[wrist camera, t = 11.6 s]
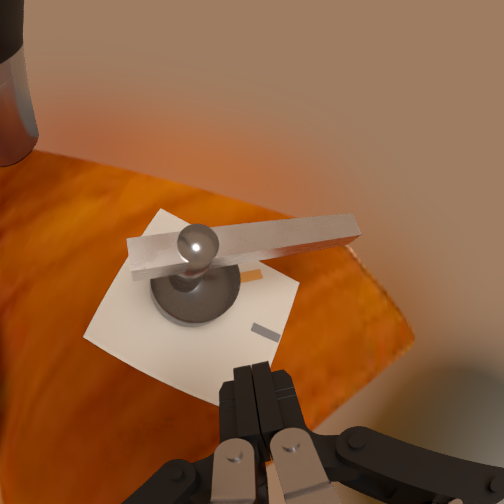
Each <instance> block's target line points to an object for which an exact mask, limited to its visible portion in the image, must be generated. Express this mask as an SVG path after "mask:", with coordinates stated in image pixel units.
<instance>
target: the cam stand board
mask: <svg viewBox="0 0 504 504" xmlns="http://www.w3.org/2000/svg"><path fill="white" fill-rule="evenodd" d="M188 225H191V224H189V223H187V222H185V221H183V220H181V219H179V218H178V217H176V216H174V215H172V214H170V213H168V212H166V211H165V210H163V209H161V208H160V210H159V211H158V212H157V214H156V215H155V217H154V218H153V220H152V221H151V223H150V224H149V226H148V227H147V229H146V230H145V232H144V233H143V235H142V236H149V235H156V234H163V233H171V232H179V231H182V230H183V229H184V228H185V227H186V226H188ZM238 267H239V271H240V277H241V283H240V290H239V293H238V296H237V298H236V300H235V302H234V303H233V305H232V306H231V307H230V308H229V309H228V310H227V311H226V312H225V313H224V314H222V315H221V316H220V317H218V318H217V319H216V320H214V321H213V322H211V323H209V324H207V325H204V326H200V327H184V326H180V325H177V324H175V323H173V322H171V321H169V320H168V319H166V318H165V317H164V316H163V315H162V314H161V313H160V312H159V311H158V309H157V308H156V306H155V304H154V302H153V300H152V297H151V292H150V279H147V280H140V281H134V282H133V280H132V274H131V267H130V261H129V256H128V258H127V260H126V261H125V263H124V264H123V266H122V268H121V269H120V271H119V273H118V274H117V276H116V278H115V279H114V281H113V283H112V284H111V286H110V288H109V290H108V291H107V293H106V295H105V297H104V298H103V300H102V302H101V304H100V306H99V307H98V309H97V311H96V313H95V315H94V317H93V319H92V321H91V322H90V324H89V326H88V328H87V330H86V332H85V334H84V336H83V337H84V338H85V339H87V340H89V341H90V342H92V343H93V344H95V345H96V346H98V347H100V348H101V349H103V350H105V351H106V352H108V353H110V354H111V355H113V356H115V357H116V358H118V359H120V360H122V361H123V362H125V363H127V364H129V365H131V366H132V367H134V368H136V369H138V370H140V371H142V372H144V373H146V374H148V375H150V376H152V377H154V378H156V379H158V380H160V381H162V382H164V383H166V384H168V385H170V386H172V387H174V388H176V389H179V390H181V391H183V392H185V393H188V394H190V395H192V396H195V397H197V398H199V399H202V400H204V401H207V402H209V403H212V404H214V405H217V406H219V390H220V388H221V386H222V384H223V382H226V381H232V380H234V375H233V368H236V367H241V366H246V365H251V368H252V364H255V363H260V362H264V361H269V365H270V366H271V364H272V361H273V358H274V355H275V353H276V350H277V347H278V344H279V342H280V339H281V336H282V333H283V330H284V327H285V324H286V322H287V319H288V316H289V313H290V310H291V307H292V304H293V301H294V298H295V295H296V292H297V288H298V285H299V282H297V281H295V280H293V279H291V278H289V277H288V276H286V275H284V274H282V273H280V272H278V271H276V270H274V269H273V268H271V267H269V266H267V265H265V264H263V263H261V262H259V261H253V262H247V263H242V264H238Z"/></svg>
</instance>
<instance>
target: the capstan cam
mask: <svg viewBox="0 0 504 504" xmlns="http://www.w3.org/2000/svg"><path fill="white" fill-rule="evenodd" d="M361 235H362V234H361V231H360V229H359V227H358V224H357V222H356V220H355V217H354V215H353V214H352V213H351V214H339V215H327V216H317V217H305V218H294V219H284V220H274V221H264V222H255V223H246V224H237V225H228V226H219V227H211V228H209V227H208V226H205V225H202V224H191V225H188V226H186V227H185V228H184V229H183V230H182V231H179V232H171V233H163V234H156V235H149V236H141V237H134V238H127V246H128V254H129V261H130V267H131V274H132V280H133V282H134V281H140V280H147V279H150V292H151V297H152V300H153V302H154V304H155V306H156V308H157V309H158V311H159V312H160V313H161V314H162V315H163V316H164V317H165V318H166V319H168V320H169V321H171V322H173V323H175V324H177V325H180V326H184V327H200V326H204V325H207V324H209V323H211V322H213V321H214V320H216V319H217V318H218V317H220V316H221V315H222V314H224V313H225V312H226V311H227V310H228V309H229V308H230V307H231V306H232V305H233V303H234V302H235V300H236V298H237V296H238V293H239V290H240V283H241V277H240V271H239V267H238V264H242V263H247V262H253V261H259V260H264V259H270V258H276V257H282V256H287V255H293V254H298V253H304V252H310V251H315V250H321V249H326V248H332V247H337V246H343V245H348V244H349V243H351V242H352V241H354V240H355V239H356V238H358V237H359V236H361Z"/></svg>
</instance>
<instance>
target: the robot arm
mask: <svg viewBox="0 0 504 504" xmlns="http://www.w3.org/2000/svg"><path fill="white" fill-rule="evenodd" d="M23 9H24V0H0V166H8V165H11V164H14V163H16V162H18V161H20V160H21V159H23V158H24V157H25V156H26V155H27V154H29V153H30V151H31V150H32V149H33V148H34V146H35V145H36V143H37V140H38V136H39V134H38V129H37V125H36V120H35V116H34V111H33V107H32V102H31V97H30V91H29V87H28V80H27V74H26V66H25V58H24V48H23V17H24V16H23V15H24V14H23V13H24V10H23ZM233 375H234V380H232V381H226V382H223V384H222V386H221V388H220V390H219V410H220V411H219V423H220V443H219V446H218V447H217V448H216V450H215V452H214V453H213V454H212V455H210V456H209V457H207V458H205V459H202V460H199V461H196V462H194V463H189V462H188V461H186V460H182V459H175V460H171V461H168V462H167V463H165V464H164V465H163V466H162V467H161V468H160V469H159V470H158V471H157V472H156V473H155V474H153V475H152V476H151V477H150V478H149V479H148V480H147V481H146V482H145V483H144V484H143V485H142V486H141V487H140V488H138V489H137V490H136V491H135V492H134V493H133V494H132V495H131V496H130V497H128V498H127V499H126V500H125V501H124V502H123V503H122V504H269V494H268V479H267V472H266V465H265V462H267V461H271V458H270V455H271V457H272V460H274V463H275V466H276V470H277V473H278V477H279V480H280V483H281V487H282V490H283V493H284V499H285V502H286V504H341V502H340V499H339V497H338V495H337V492H336V490H335V488H334V486H333V485H332V483H331V482H336V481H338V482H340V483H341V484H343V485H345V486H347V487H349V488H352V489H354V490H356V491H358V492H360V493H363V494H365V495H367V496H369V497H372V498H374V499H377V500H379V501H381V502H384V503H387V504H496V503H498V502H499V501H501V500H502V499H504V468H502V467H495V466H490V465H485V464H480V463H476V462H472V461H467V460H463V459H459V458H455V457H452V456H448V455H444V454H441V453H437V452H434V451H431V450H427V449H424V448H421V447H418V446H415V445H412V444H409V443H406V442H403V441H401V440H398V439H395V438H392V437H389V436H387V435H384V434H382V433H379V432H376V431H374V430H371V429H369V428H366V427H362V426H357V427H351V428H348V429H346V430H345V431H344V432H342V433H341V434H340V435H318V434H316V433H314V432H312V431H310V430H309V429H308V428H307V426H306V424H305V422H304V418H303V415H302V412H301V408H300V405H299V402H298V399H297V396H296V392H295V389H294V385H293V382H292V379H291V376H290V375H289V374H288V373H287V372H286V371H285V370H279V371H275V372H271V369H270V365H269V361H264V362H260V363H255V364H252V368H251V365H246V366H241V367H236V368H233ZM269 452H270V453H269Z"/></svg>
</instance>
